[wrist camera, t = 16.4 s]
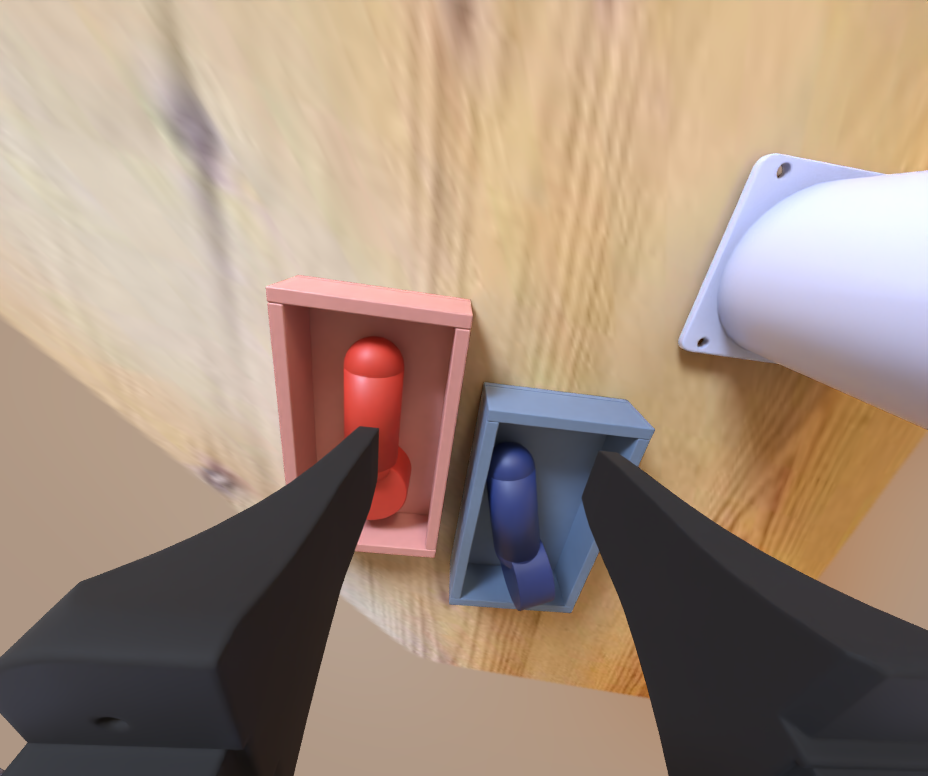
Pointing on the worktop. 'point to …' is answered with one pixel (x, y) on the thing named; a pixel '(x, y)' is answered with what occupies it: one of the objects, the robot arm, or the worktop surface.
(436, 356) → the red bin
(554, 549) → the blue bin
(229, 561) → the robot arm
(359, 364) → the red rubber stamp
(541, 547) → the blue handle
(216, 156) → the worktop surface
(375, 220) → the worktop surface
